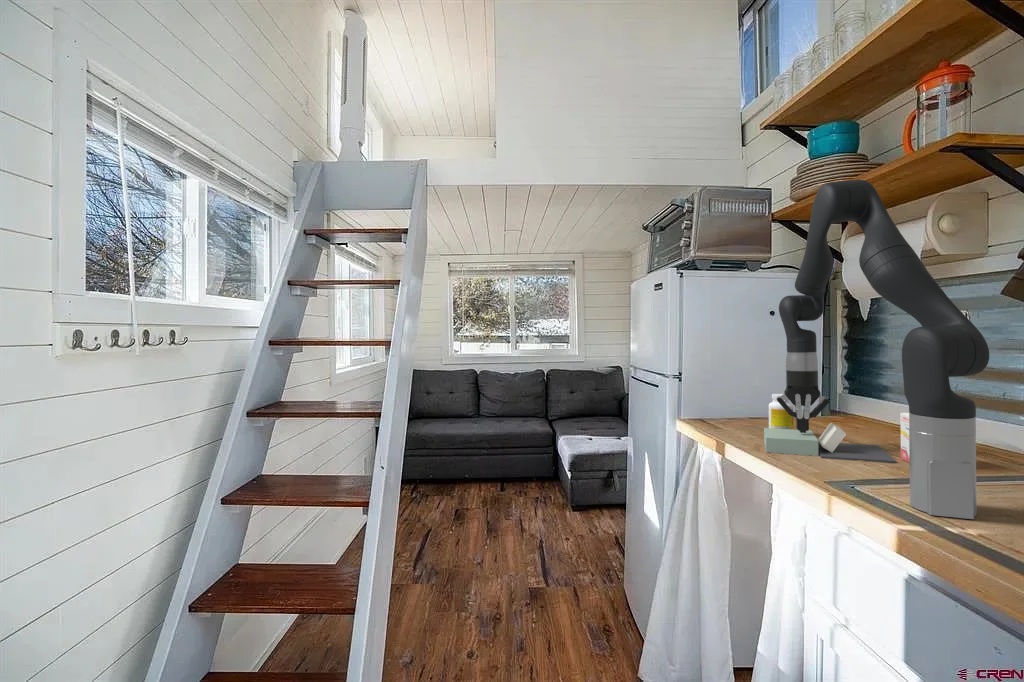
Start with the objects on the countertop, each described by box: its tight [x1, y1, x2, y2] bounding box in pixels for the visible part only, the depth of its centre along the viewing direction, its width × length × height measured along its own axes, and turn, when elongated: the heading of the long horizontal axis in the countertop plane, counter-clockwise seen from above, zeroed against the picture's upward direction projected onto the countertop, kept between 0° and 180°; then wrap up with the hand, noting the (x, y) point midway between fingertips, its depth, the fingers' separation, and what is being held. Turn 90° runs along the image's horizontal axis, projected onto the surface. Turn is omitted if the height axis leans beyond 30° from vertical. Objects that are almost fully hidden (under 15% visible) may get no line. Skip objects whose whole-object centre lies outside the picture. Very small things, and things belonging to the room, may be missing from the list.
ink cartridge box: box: [899, 412, 910, 464], centre depth 121 cm, size 9×5×15 cm, turn 168°
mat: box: [818, 441, 897, 464], centre depth 134 cm, size 18×16×1 cm
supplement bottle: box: [768, 393, 794, 430], centre depth 155 cm, size 7×7×13 cm
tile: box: [817, 422, 847, 452], centre depth 136 cm, size 9×6×2 cm
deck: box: [763, 427, 819, 457], centre depth 140 cm, size 14×12×4 cm
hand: (802, 432), depth 138 cm, fingers closed
